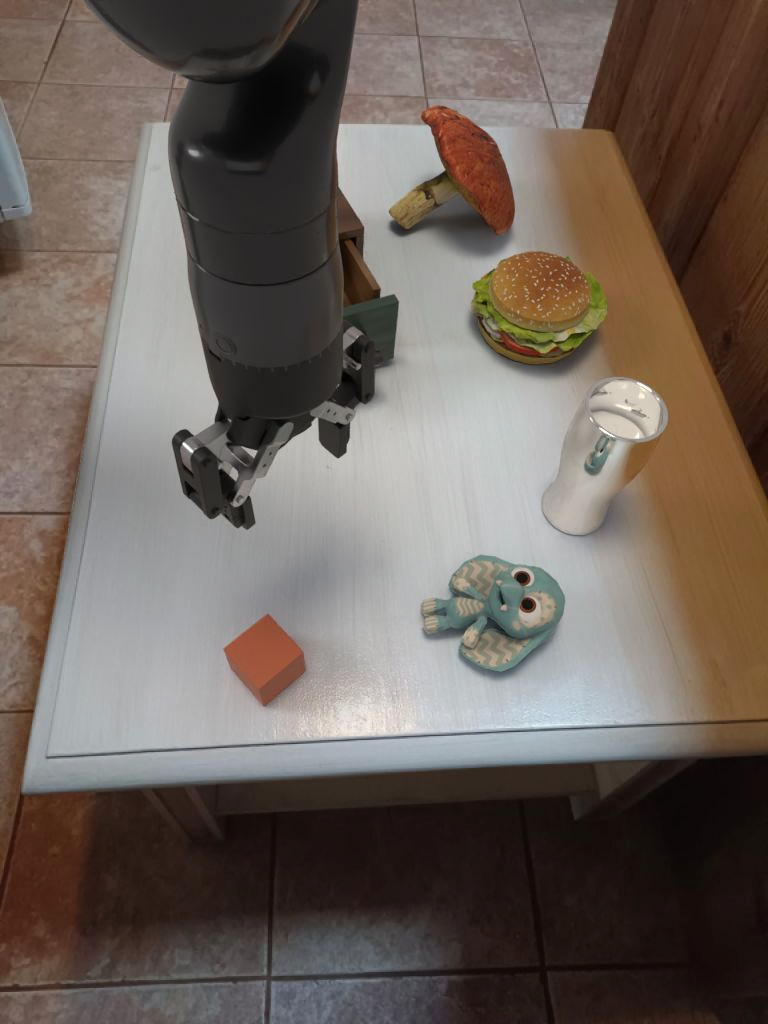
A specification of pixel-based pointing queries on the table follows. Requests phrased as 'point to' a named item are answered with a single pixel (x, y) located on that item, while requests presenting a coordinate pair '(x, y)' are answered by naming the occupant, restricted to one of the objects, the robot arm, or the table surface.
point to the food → (537, 307)
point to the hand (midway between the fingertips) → (288, 483)
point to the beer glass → (603, 452)
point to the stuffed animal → (498, 610)
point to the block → (265, 659)
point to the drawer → (368, 303)
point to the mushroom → (461, 173)
